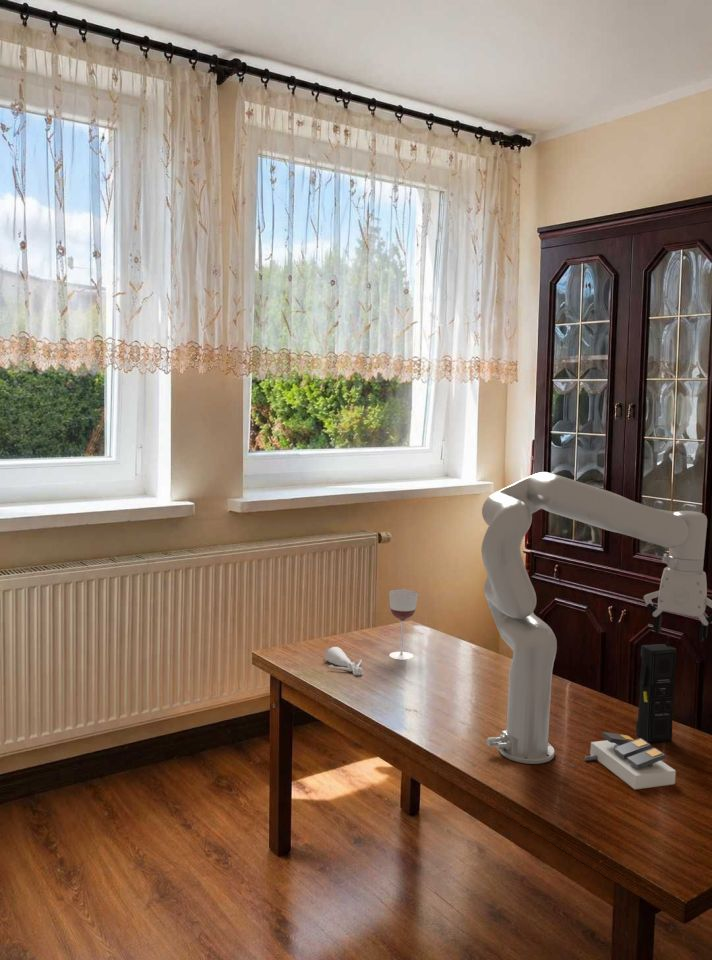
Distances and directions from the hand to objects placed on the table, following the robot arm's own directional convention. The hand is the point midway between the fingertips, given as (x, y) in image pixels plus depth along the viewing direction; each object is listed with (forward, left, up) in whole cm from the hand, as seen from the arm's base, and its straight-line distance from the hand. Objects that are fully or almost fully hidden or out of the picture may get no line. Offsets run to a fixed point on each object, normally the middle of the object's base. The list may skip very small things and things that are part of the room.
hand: (679, 636), depth 195 cm
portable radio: (-1, +5, -27) cm, 28 cm away
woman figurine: (-60, +70, -28) cm, 97 cm away
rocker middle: (-16, -8, -23) cm, 30 cm away
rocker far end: (-16, -13, -23) cm, 31 cm away
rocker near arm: (-17, -3, -23) cm, 29 cm away
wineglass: (-40, +76, -27) cm, 91 cm away
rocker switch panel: (-18, -8, -27) cm, 33 cm away
